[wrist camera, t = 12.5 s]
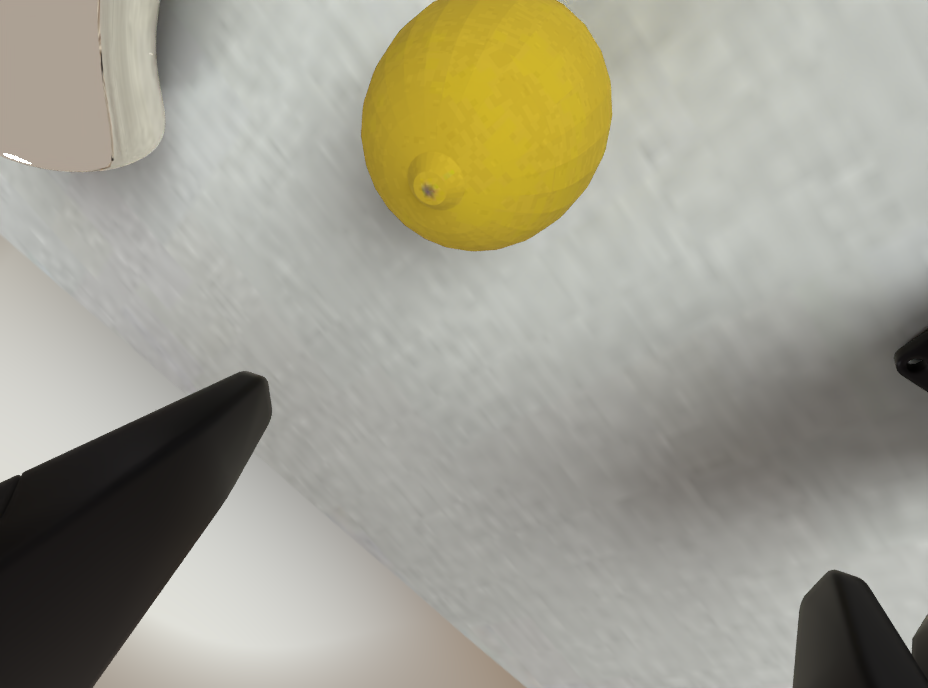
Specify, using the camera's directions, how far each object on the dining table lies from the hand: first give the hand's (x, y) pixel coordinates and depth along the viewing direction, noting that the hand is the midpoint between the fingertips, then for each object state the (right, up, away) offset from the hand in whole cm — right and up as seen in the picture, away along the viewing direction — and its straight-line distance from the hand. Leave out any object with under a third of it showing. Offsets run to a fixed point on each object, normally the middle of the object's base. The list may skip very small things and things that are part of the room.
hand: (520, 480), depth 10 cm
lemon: (+1, +10, +8) cm, 13 cm away
